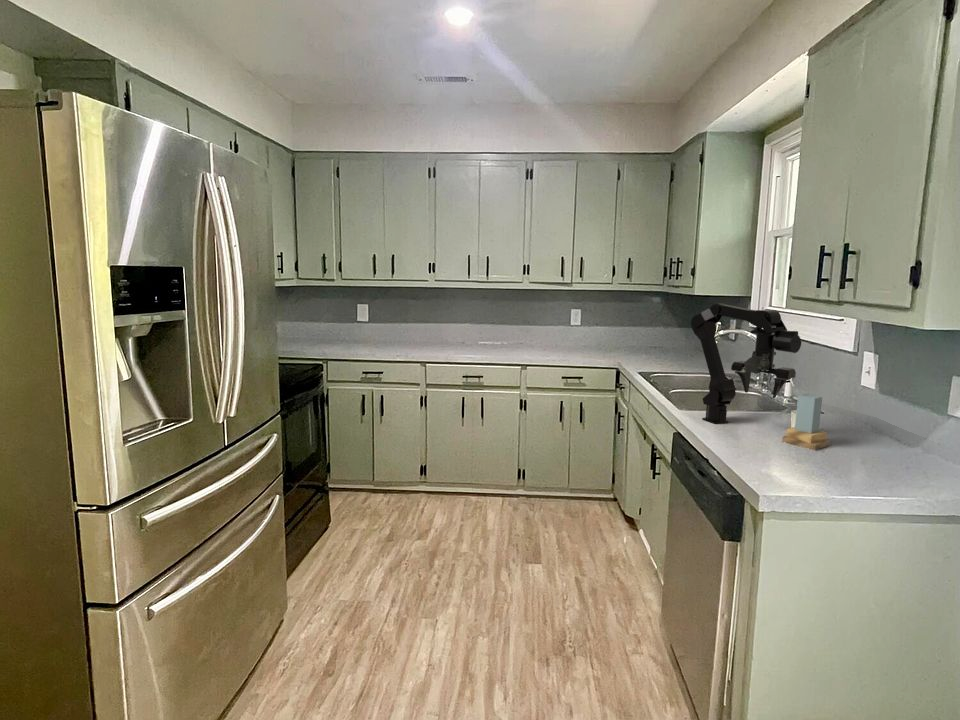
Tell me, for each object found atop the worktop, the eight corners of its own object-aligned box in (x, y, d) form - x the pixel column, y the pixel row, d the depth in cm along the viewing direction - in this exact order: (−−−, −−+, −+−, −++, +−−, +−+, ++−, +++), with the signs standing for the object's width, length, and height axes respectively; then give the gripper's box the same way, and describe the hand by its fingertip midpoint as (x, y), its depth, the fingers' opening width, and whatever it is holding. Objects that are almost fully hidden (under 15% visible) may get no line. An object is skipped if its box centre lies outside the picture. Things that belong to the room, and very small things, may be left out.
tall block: (794, 429, 181) (798, 395, 179) (802, 427, 184) (805, 394, 182) (811, 433, 177) (814, 398, 175) (818, 430, 180) (822, 396, 178)
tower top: (785, 436, 182) (786, 428, 182) (800, 433, 186) (801, 425, 186) (810, 443, 175) (811, 435, 175) (825, 440, 179) (826, 432, 179)
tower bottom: (781, 444, 182) (782, 436, 182) (796, 439, 188) (797, 431, 188) (814, 452, 174) (815, 444, 174) (829, 447, 180) (830, 439, 180)
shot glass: (804, 429, 197) (806, 409, 196) (816, 435, 190) (818, 414, 189) (784, 428, 197) (787, 409, 196) (796, 434, 190) (798, 414, 189)
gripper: (724, 346, 189) (720, 392, 191) (782, 354, 174) (777, 404, 177) (742, 344, 196) (737, 388, 198) (798, 351, 181) (793, 399, 184)
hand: (760, 395), depth 189 cm, fingers open, 9 cm apart
